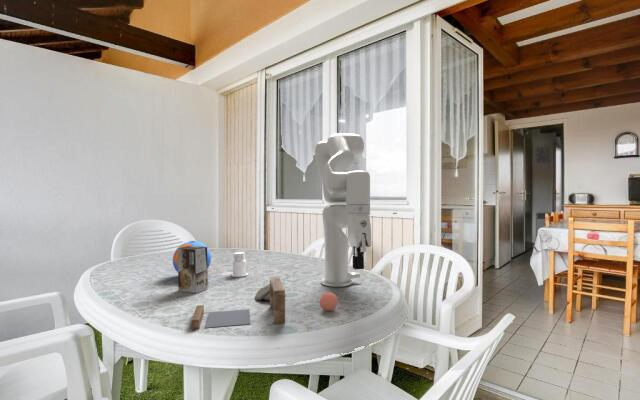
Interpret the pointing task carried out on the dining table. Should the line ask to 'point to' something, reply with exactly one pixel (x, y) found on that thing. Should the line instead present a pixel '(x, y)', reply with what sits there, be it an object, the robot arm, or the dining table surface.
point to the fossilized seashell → (264, 293)
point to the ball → (328, 301)
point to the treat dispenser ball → (190, 243)
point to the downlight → (239, 265)
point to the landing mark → (228, 318)
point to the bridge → (277, 300)
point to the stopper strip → (197, 317)
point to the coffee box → (192, 269)
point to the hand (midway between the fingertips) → (358, 268)
